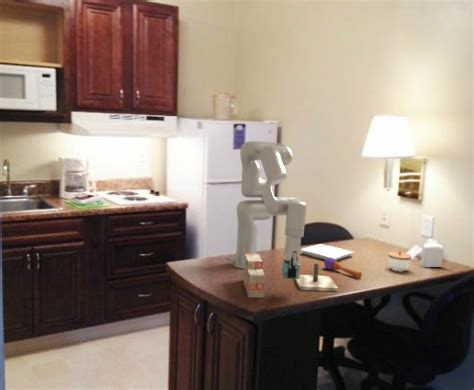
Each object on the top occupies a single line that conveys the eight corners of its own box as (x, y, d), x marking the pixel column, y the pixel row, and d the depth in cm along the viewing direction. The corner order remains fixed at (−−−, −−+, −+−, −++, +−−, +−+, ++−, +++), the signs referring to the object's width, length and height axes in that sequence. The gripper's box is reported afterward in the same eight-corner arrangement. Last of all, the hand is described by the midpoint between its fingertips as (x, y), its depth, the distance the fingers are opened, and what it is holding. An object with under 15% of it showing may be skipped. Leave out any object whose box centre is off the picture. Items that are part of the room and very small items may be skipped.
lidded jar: (382, 266, 251) (384, 248, 249) (402, 266, 253) (404, 248, 252) (393, 273, 240) (395, 254, 239) (413, 273, 243) (415, 254, 241)
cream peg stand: (299, 289, 209) (301, 267, 207) (293, 277, 224) (295, 257, 223) (337, 291, 209) (339, 269, 208) (329, 279, 225) (330, 258, 224)
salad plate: (354, 257, 267) (354, 251, 267) (334, 264, 251) (334, 257, 251) (320, 249, 281) (320, 243, 280) (299, 255, 265) (299, 249, 265)
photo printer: (422, 267, 254) (425, 244, 252) (419, 265, 258) (422, 242, 256) (442, 268, 253) (445, 245, 252) (439, 266, 258) (442, 243, 256)
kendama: (355, 272, 226) (321, 257, 241) (355, 283, 228) (321, 269, 242) (363, 267, 229) (329, 254, 244) (363, 279, 231) (329, 265, 246)
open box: (284, 278, 199) (285, 264, 198) (282, 273, 205) (283, 259, 204) (298, 279, 199) (300, 264, 198) (296, 274, 205) (297, 260, 204)
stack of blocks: (263, 298, 197) (265, 267, 195) (248, 297, 196) (249, 267, 194) (257, 280, 218) (258, 253, 216) (242, 280, 217) (244, 252, 215)
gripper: (282, 226, 207) (278, 267, 210) (288, 236, 190) (284, 281, 193) (300, 227, 207) (296, 268, 211) (307, 237, 191) (303, 282, 194)
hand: (290, 274), depth 202 cm, fingers closed on open box, 5 cm apart
